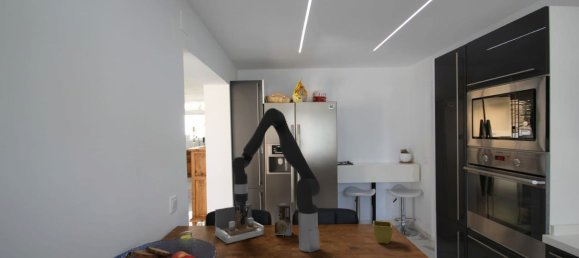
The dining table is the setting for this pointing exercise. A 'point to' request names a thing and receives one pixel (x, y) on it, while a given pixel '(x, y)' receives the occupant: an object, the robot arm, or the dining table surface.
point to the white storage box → (228, 215)
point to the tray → (239, 227)
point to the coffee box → (283, 219)
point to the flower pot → (383, 231)
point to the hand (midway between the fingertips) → (241, 223)
